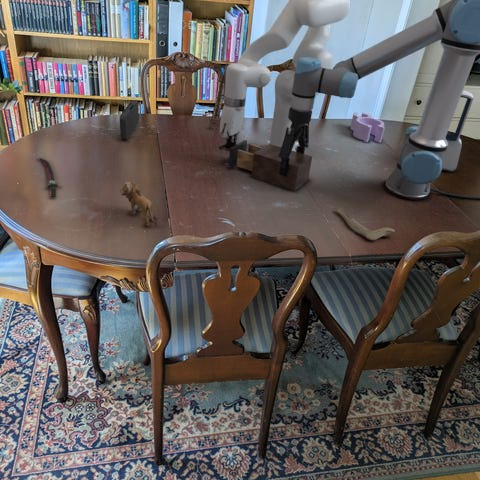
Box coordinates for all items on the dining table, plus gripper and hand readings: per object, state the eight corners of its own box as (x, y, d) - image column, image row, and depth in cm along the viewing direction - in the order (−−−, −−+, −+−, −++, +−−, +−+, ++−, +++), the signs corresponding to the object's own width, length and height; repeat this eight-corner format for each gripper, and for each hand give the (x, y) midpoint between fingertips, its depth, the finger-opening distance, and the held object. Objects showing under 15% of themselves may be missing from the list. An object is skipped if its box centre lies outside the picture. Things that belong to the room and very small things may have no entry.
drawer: (215, 161, 172) (216, 143, 168) (230, 153, 180) (231, 136, 176) (266, 178, 164) (268, 159, 160) (279, 168, 172) (282, 151, 168)
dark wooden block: (251, 176, 166) (253, 153, 161) (266, 166, 175) (269, 143, 170) (294, 191, 159) (298, 166, 154) (308, 179, 168) (312, 156, 163)
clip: (343, 126, 223) (346, 112, 219) (367, 127, 225) (371, 113, 221) (360, 142, 206) (364, 127, 202) (386, 142, 209) (390, 127, 205)
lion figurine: (118, 210, 138) (116, 182, 133) (132, 204, 141) (131, 177, 137) (151, 229, 130) (150, 201, 126) (165, 223, 134) (165, 195, 129)
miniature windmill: (227, 131, 202) (232, 59, 186) (208, 128, 203) (212, 56, 187) (231, 125, 210) (237, 55, 193) (213, 122, 211) (217, 52, 194)
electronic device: (453, 166, 192) (481, 93, 175) (454, 173, 186) (482, 98, 169) (422, 160, 194) (446, 87, 178) (422, 167, 188) (447, 92, 172)
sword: (61, 197, 141) (61, 193, 140) (50, 198, 139) (50, 194, 139) (49, 160, 164) (48, 156, 163) (39, 160, 163) (39, 157, 162)
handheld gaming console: (132, 121, 201) (132, 98, 196) (139, 122, 202) (138, 99, 196) (119, 140, 182) (118, 115, 177) (126, 141, 182) (125, 116, 177)
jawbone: (381, 248, 134) (382, 242, 133) (320, 221, 145) (321, 216, 143) (394, 234, 140) (396, 229, 139) (335, 210, 150) (336, 204, 149)
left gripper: (236, 95, 170) (231, 142, 180) (214, 103, 159) (211, 154, 169) (254, 99, 167) (248, 147, 177) (233, 108, 156) (228, 159, 166)
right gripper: (305, 98, 162) (295, 156, 174) (274, 114, 144) (265, 177, 156) (325, 103, 159) (314, 162, 171) (295, 120, 141) (285, 184, 153)
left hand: (230, 150), depth 173 cm, fingers closed
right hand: (290, 169), depth 163 cm, fingers closed on dark wooden block, 12 cm apart
